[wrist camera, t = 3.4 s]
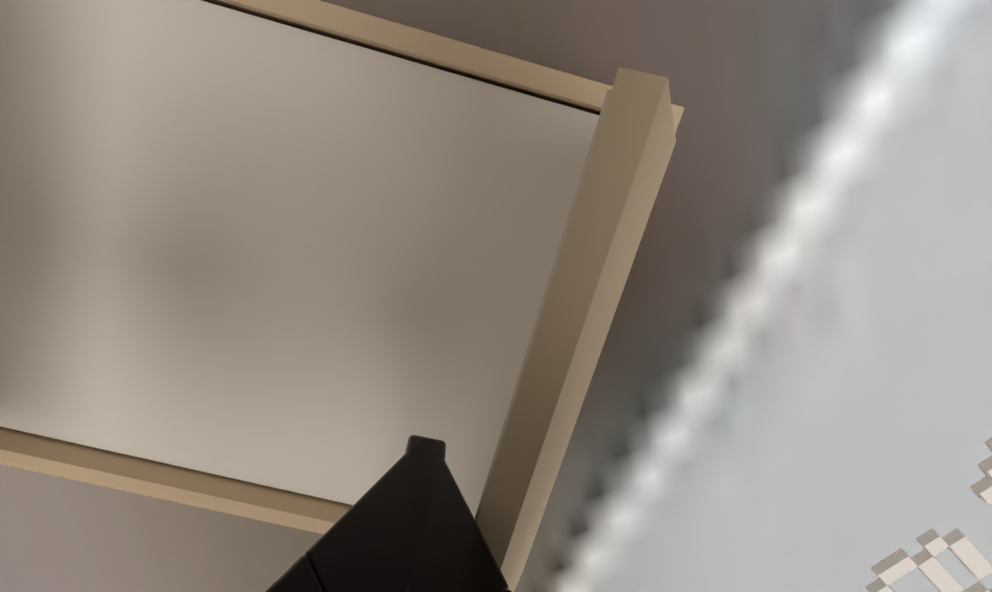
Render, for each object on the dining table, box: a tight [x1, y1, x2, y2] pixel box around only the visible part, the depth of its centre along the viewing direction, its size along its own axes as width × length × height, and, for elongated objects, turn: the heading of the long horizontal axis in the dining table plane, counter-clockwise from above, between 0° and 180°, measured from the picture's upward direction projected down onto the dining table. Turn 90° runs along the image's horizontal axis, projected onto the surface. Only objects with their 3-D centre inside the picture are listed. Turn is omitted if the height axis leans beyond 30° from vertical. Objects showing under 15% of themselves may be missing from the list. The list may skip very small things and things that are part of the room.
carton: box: [0, 0, 684, 534], centre depth 16 cm, size 14×18×6 cm
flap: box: [475, 67, 676, 592], centre depth 10 cm, size 12×7×1 cm
